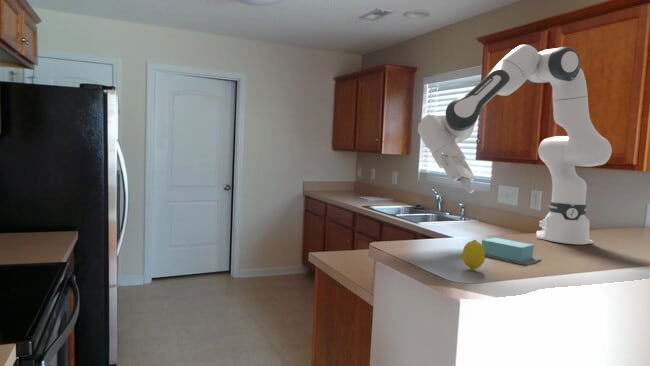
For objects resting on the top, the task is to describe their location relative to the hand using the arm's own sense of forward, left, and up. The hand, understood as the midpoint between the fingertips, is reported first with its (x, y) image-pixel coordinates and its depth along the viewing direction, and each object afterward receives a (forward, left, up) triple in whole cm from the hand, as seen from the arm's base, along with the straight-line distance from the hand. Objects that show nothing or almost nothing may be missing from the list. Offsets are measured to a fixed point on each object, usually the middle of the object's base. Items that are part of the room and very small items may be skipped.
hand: (471, 191), depth 143 cm
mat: (+11, +12, -18) cm, 24 cm away
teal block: (+7, +5, -16) cm, 18 cm away
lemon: (+32, -1, -18) cm, 36 cm away
